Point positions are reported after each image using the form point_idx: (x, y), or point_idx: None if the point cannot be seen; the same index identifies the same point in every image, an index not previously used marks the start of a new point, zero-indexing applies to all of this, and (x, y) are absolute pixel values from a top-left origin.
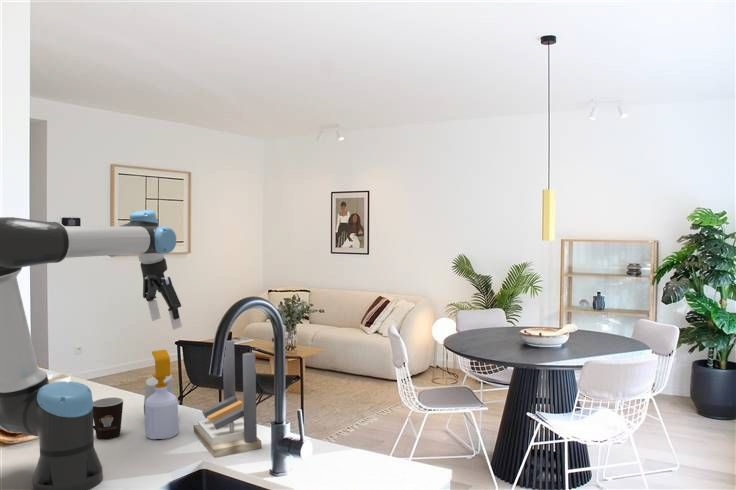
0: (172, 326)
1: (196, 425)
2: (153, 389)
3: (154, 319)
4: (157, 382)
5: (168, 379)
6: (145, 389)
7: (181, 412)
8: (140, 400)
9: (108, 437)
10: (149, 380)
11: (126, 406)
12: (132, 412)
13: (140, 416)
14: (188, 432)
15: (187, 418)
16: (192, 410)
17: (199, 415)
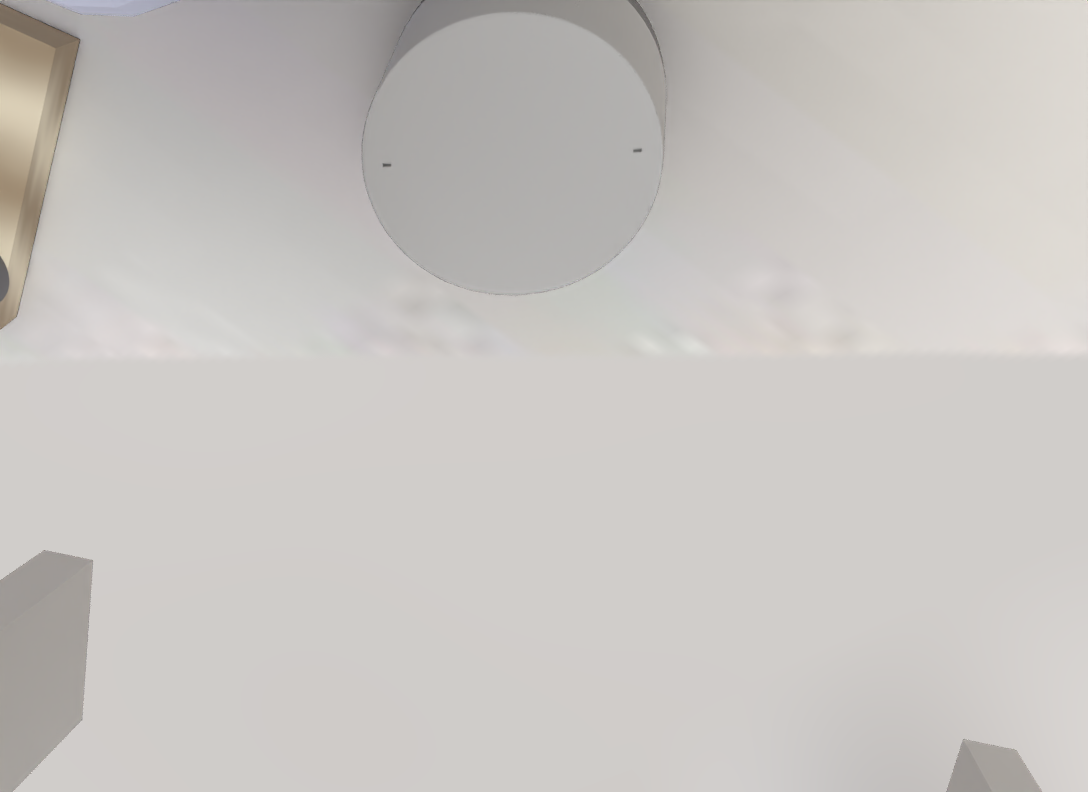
0: (37, 586)
1: (34, 57)
2: (445, 16)
3: (957, 786)
4: (456, 94)
5: (380, 189)
6: (586, 9)
7: None
8: (1080, 281)
9: None
10: (598, 89)
11: (1071, 120)
12: (891, 51)
13: (742, 26)
14: None
15: None
16: (511, 342)
17: (373, 298)
